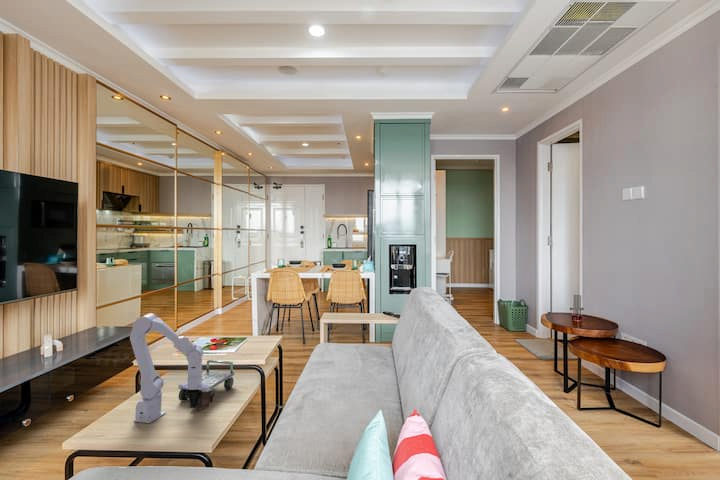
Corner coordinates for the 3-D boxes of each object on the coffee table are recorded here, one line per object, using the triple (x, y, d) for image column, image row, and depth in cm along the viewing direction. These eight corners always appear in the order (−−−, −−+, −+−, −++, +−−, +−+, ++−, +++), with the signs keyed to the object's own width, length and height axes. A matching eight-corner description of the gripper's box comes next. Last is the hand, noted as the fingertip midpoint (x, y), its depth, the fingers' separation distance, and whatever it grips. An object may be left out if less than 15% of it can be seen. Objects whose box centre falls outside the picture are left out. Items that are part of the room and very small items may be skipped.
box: (209, 407, 158) (211, 390, 160) (200, 409, 152) (203, 391, 154) (197, 406, 159) (200, 389, 161) (188, 408, 154) (192, 390, 156)
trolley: (207, 405, 160) (208, 376, 160) (177, 402, 163) (178, 373, 163) (234, 386, 182) (234, 361, 183) (207, 384, 185) (208, 359, 186)
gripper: (214, 373, 156) (214, 403, 155) (186, 371, 158) (185, 401, 158) (204, 378, 149) (204, 410, 148) (175, 376, 151) (174, 407, 151)
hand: (193, 406), depth 152 cm, fingers closed, pressing on box
